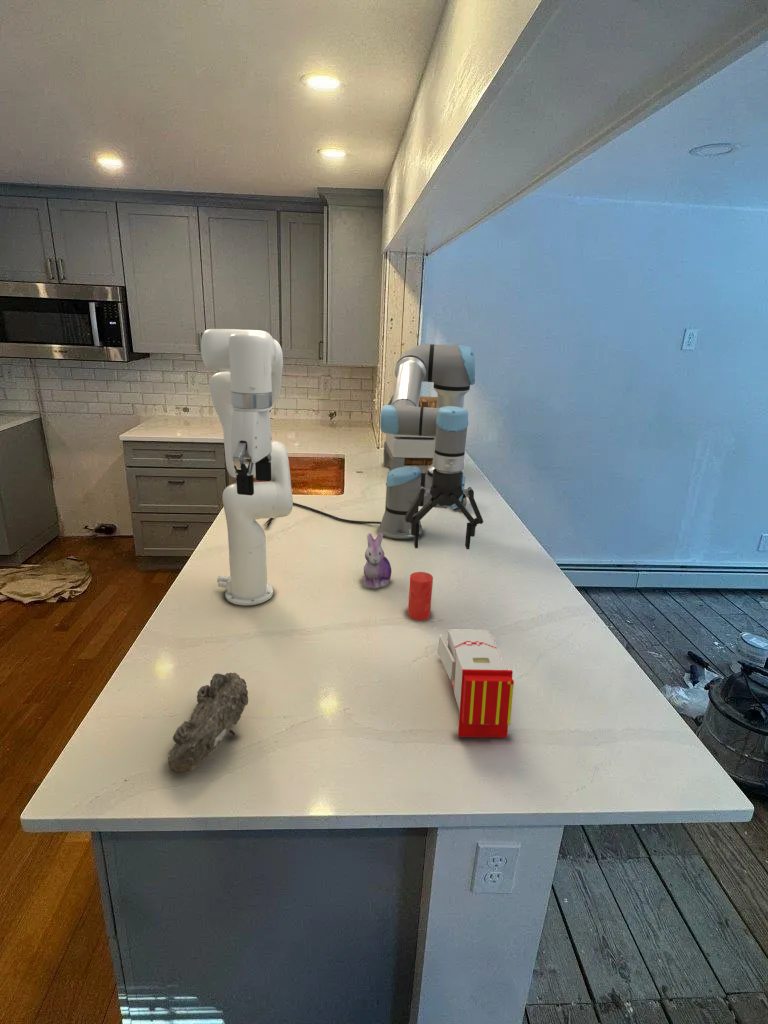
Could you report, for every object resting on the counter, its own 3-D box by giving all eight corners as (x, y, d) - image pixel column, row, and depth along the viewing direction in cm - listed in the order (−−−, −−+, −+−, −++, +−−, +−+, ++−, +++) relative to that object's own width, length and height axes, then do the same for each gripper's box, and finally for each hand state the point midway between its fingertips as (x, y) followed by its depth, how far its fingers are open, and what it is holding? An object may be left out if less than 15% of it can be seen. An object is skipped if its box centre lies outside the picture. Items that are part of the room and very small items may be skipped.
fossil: (194, 673, 113) (248, 641, 108) (227, 704, 116) (281, 674, 111) (142, 765, 94) (204, 730, 89) (183, 800, 97) (246, 768, 92)
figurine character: (467, 515, 225) (461, 499, 238) (469, 498, 221) (463, 482, 235) (450, 514, 224) (445, 498, 238) (452, 497, 221) (447, 482, 234)
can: (403, 612, 148) (405, 574, 145) (420, 607, 152) (423, 569, 148) (416, 622, 144) (419, 584, 140) (434, 616, 147) (437, 578, 143)
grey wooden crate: (382, 463, 289) (386, 382, 275) (445, 464, 293) (451, 384, 279) (390, 482, 257) (394, 392, 243) (460, 483, 261) (468, 394, 247)
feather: (284, 506, 225) (286, 502, 224) (266, 530, 198) (268, 525, 198) (280, 504, 225) (282, 500, 224) (261, 527, 198) (264, 523, 197)
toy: (488, 613, 130) (523, 677, 101) (484, 667, 133) (517, 744, 104) (435, 612, 130) (455, 676, 101) (432, 666, 133) (451, 743, 103)
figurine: (369, 592, 157) (371, 543, 152) (354, 577, 166) (355, 529, 161) (399, 586, 162) (402, 538, 157) (383, 572, 170) (385, 525, 165)
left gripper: (250, 393, 116) (253, 474, 122) (213, 406, 100) (218, 498, 106) (285, 396, 115) (286, 477, 121) (253, 409, 99) (257, 502, 105)
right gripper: (399, 472, 138) (395, 551, 146) (500, 475, 139) (491, 553, 147) (397, 464, 145) (393, 539, 153) (493, 466, 146) (485, 541, 154)
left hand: (255, 487), depth 113 cm, fingers open, 9 cm apart
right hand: (441, 546), depth 150 cm, fingers open, 13 cm apart
